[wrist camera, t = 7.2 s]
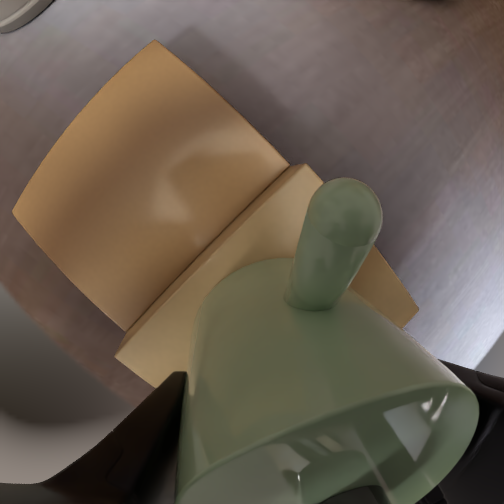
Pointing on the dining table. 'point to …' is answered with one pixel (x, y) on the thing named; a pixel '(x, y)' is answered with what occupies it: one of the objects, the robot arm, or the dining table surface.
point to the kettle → (315, 380)
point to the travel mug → (19, 12)
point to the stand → (171, 208)
